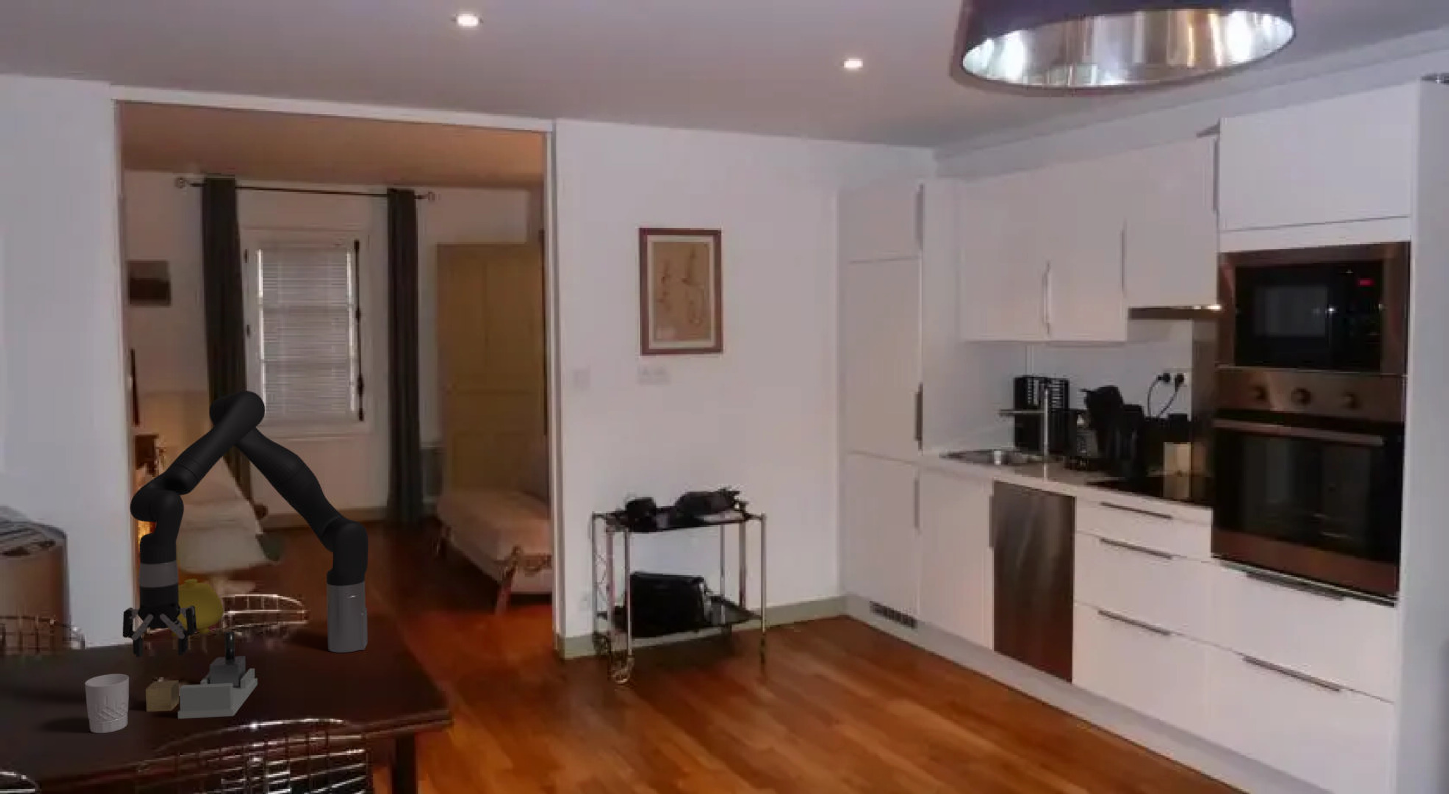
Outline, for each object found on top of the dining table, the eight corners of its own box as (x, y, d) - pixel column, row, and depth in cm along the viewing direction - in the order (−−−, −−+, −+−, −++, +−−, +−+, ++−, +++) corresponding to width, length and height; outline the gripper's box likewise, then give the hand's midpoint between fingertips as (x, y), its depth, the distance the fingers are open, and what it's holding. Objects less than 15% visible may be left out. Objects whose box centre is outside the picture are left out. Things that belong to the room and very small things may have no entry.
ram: (218, 678, 251) (216, 631, 250) (245, 677, 252) (244, 630, 251) (210, 687, 245) (208, 639, 244) (238, 686, 246) (237, 638, 245)
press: (207, 685, 252) (207, 657, 251) (258, 683, 254) (257, 655, 253) (178, 718, 231) (177, 688, 231) (233, 716, 233) (232, 686, 232)
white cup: (120, 717, 232) (119, 671, 231) (137, 726, 227) (135, 679, 226) (80, 728, 225) (78, 680, 225) (96, 737, 220) (94, 689, 220)
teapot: (136, 642, 284) (135, 590, 283) (146, 626, 299) (144, 576, 298) (221, 635, 291) (220, 584, 290) (226, 619, 305) (224, 571, 304)
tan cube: (179, 702, 241) (178, 680, 240) (171, 710, 236) (170, 688, 236) (154, 703, 240) (154, 681, 240) (146, 712, 235) (145, 689, 235)
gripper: (199, 576, 241) (201, 649, 242) (129, 578, 239) (131, 651, 240) (188, 584, 233) (190, 659, 235) (116, 586, 231) (118, 662, 232)
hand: (160, 655), depth 237 cm, fingers open, 8 cm apart
